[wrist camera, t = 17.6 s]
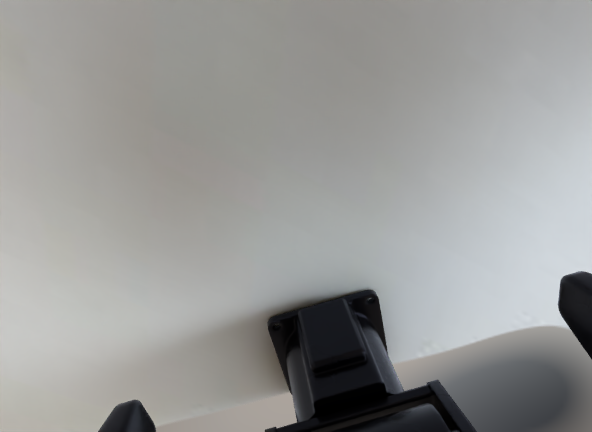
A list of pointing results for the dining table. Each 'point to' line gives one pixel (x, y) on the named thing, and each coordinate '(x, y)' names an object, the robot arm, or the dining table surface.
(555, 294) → the dining table surface
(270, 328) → the robot arm
